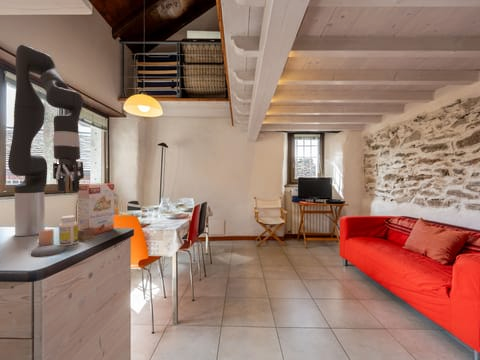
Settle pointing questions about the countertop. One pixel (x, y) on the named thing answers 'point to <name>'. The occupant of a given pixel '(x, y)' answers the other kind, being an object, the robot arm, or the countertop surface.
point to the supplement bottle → (68, 231)
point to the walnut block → (85, 234)
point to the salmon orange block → (46, 237)
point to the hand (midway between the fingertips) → (68, 191)
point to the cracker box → (96, 207)
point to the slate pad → (48, 250)
